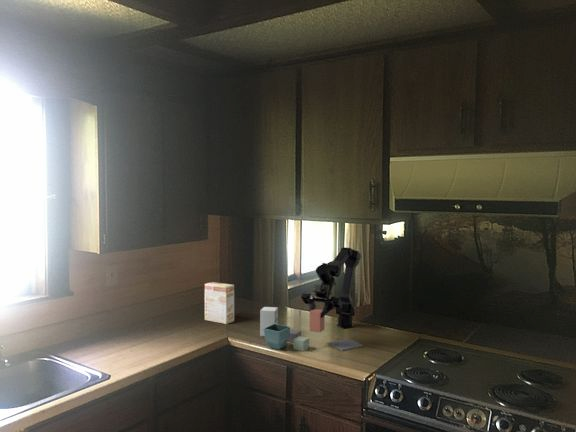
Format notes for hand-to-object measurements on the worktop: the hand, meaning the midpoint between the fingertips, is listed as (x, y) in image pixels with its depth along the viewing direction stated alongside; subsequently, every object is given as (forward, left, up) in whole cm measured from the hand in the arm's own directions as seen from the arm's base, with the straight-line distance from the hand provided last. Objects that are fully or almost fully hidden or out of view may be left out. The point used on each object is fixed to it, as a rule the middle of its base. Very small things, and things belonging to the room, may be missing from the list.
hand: (315, 316), depth 222 cm
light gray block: (+5, -11, -14) cm, 18 cm away
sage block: (+7, -1, -14) cm, 15 cm away
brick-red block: (-1, -1, -7) cm, 7 cm away
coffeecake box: (+21, -59, -14) cm, 64 cm away
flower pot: (+16, -7, -14) cm, 22 cm away
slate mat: (-12, +6, -13) cm, 19 cm away
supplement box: (+10, -25, -14) cm, 30 cm away
